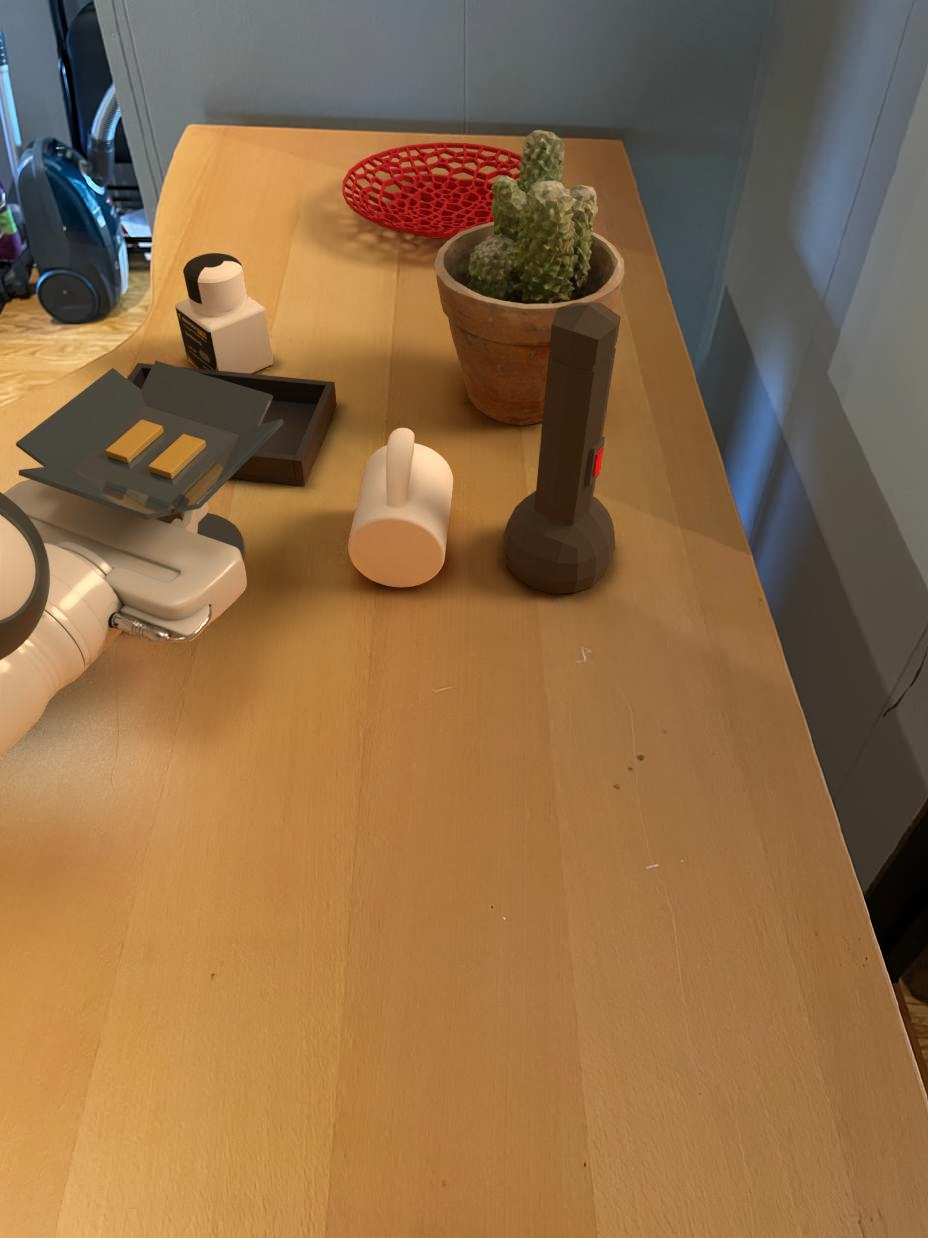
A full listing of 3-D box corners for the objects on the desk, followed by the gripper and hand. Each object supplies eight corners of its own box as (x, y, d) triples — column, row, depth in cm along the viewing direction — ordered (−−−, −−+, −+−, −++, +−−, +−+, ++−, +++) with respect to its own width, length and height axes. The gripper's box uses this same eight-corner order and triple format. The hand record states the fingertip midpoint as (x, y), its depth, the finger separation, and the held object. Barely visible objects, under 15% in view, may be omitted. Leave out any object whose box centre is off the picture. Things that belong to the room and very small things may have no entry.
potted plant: (631, 429, 99) (675, 189, 80) (464, 460, 95) (470, 215, 76) (566, 340, 110) (591, 113, 92) (415, 364, 106) (409, 131, 88)
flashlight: (482, 569, 84) (581, 612, 81) (493, 314, 66) (622, 356, 62) (535, 508, 90) (629, 546, 86) (558, 258, 71) (679, 294, 68)
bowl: (490, 292, 118) (492, 254, 114) (301, 235, 127) (297, 198, 124) (589, 206, 135) (593, 170, 131) (416, 162, 145) (415, 127, 141)
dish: (210, 653, 72) (176, 527, 62) (44, 589, 76) (-12, 461, 67) (316, 527, 82) (301, 401, 72) (164, 476, 86) (131, 351, 77)
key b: (171, 479, 69) (170, 473, 68) (149, 471, 69) (147, 465, 69) (206, 446, 72) (205, 440, 71) (184, 439, 72) (183, 433, 72)
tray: (93, 463, 93) (85, 438, 91) (144, 387, 102) (137, 362, 100) (304, 486, 91) (301, 460, 89) (337, 406, 101) (334, 381, 98)
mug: (351, 585, 82) (340, 478, 74) (366, 509, 89) (358, 402, 80) (444, 591, 82) (444, 484, 73) (453, 514, 89) (454, 407, 80)
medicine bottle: (186, 361, 106) (163, 259, 97) (240, 339, 109) (222, 239, 100) (220, 388, 102) (199, 285, 94) (275, 364, 106) (259, 263, 97)
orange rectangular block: (128, 463, 70) (126, 457, 69) (106, 456, 70) (104, 450, 70) (164, 431, 73) (162, 425, 72) (143, 425, 73) (141, 418, 73)
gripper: (171, 621, 61) (283, 497, 70) (-68, 530, 67) (64, 425, 75) (190, 681, 66) (292, 558, 75) (-35, 592, 71) (85, 487, 80)
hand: (176, 491), depth 75 cm, fingers closed on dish, 3 cm apart
